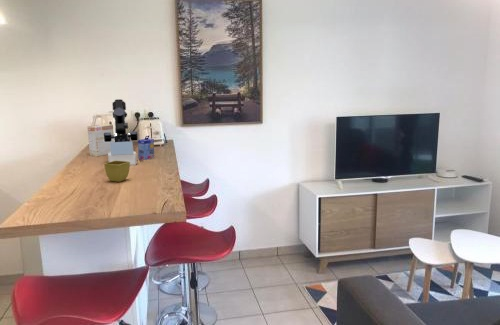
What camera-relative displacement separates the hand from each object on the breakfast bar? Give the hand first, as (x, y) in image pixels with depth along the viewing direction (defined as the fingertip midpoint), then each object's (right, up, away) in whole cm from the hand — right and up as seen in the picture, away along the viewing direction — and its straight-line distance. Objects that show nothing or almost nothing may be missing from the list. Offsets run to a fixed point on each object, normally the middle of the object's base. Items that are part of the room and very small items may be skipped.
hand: (121, 147), depth 237 cm
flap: (+2, -4, -5) cm, 6 cm away
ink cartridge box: (+10, -6, +19) cm, 22 cm away
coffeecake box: (-24, -3, +35) cm, 43 cm away
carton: (0, -9, +3) cm, 10 cm away
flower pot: (+10, -17, -38) cm, 43 cm away
